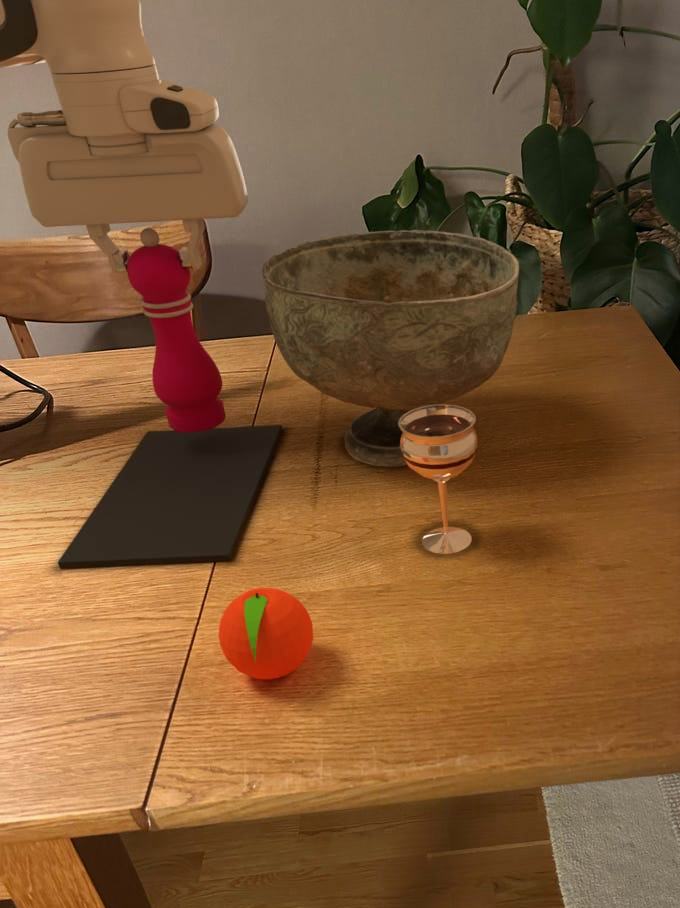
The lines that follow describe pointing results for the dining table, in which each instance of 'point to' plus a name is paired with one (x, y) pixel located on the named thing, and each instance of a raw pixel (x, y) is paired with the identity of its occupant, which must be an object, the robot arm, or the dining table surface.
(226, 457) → the mat
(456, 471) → the wineglass
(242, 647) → the clementine
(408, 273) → the decorative bowl
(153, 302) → the pepper mill
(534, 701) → the dining table surface
